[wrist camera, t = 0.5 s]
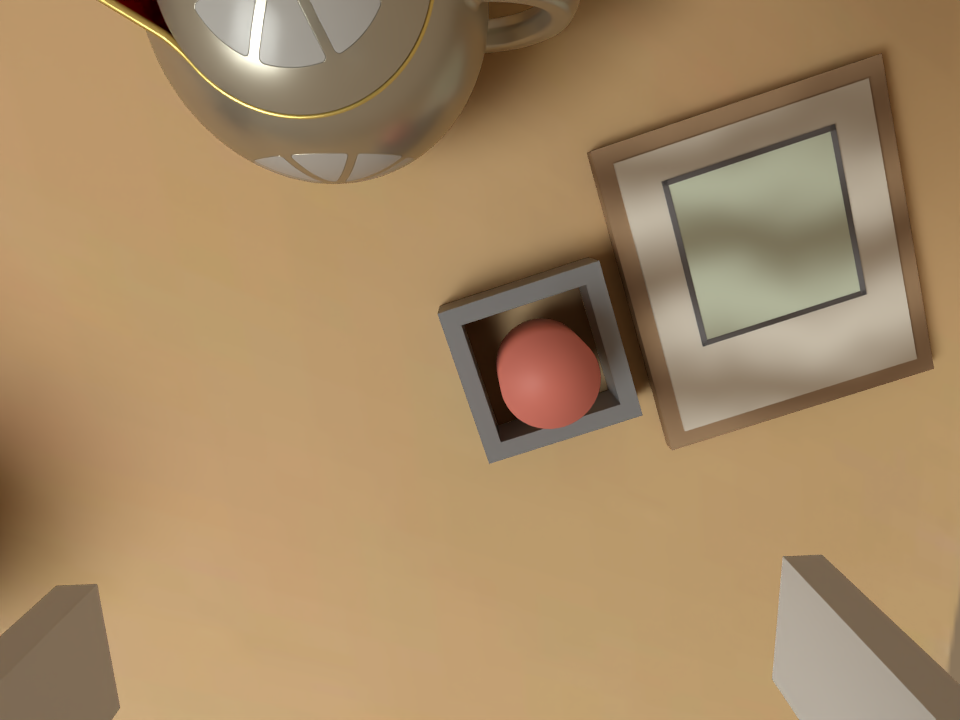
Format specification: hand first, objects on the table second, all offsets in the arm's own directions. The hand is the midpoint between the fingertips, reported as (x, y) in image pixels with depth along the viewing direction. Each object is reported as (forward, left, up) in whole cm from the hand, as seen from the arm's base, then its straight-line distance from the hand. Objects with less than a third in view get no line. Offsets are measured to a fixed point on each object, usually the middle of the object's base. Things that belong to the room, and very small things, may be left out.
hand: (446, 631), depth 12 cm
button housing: (+1, +4, -26) cm, 26 cm away
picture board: (+1, +18, -26) cm, 31 cm away
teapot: (-17, +1, -26) cm, 31 cm away
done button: (+1, +4, -23) cm, 24 cm away
